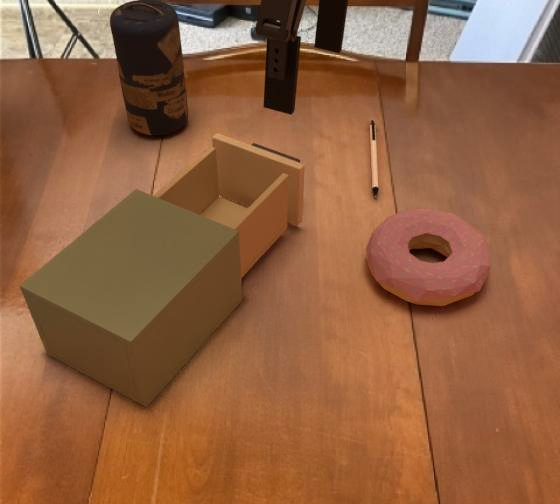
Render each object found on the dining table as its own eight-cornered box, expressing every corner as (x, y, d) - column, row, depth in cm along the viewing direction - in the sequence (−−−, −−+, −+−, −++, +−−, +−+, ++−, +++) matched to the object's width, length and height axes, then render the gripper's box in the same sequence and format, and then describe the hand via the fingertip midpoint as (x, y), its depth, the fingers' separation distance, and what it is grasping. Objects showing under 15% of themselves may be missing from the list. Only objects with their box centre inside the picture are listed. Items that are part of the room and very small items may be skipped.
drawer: (238, 173, 97) (235, 116, 90) (318, 204, 93) (322, 146, 86) (142, 263, 85) (130, 205, 78) (229, 302, 81) (225, 245, 74)
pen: (374, 123, 107) (375, 117, 106) (378, 199, 95) (379, 192, 94) (369, 123, 107) (370, 117, 106) (372, 199, 95) (373, 192, 94)
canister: (164, 147, 102) (147, 26, 88) (115, 128, 105) (91, 8, 91) (201, 118, 108) (191, -2, 93) (154, 100, 111) (137, -18, 96)
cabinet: (148, 258, 87) (135, 188, 79) (242, 300, 83) (239, 230, 74) (46, 354, 77) (19, 285, 69) (146, 407, 73) (130, 341, 64)
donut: (460, 331, 80) (470, 302, 76) (344, 286, 84) (347, 256, 81) (501, 254, 88) (511, 224, 85) (393, 217, 93) (398, 186, 89)
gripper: (326, -169, 40) (295, 151, 56) (424, -229, 56) (378, 35, 72) (211, -189, 42) (213, 128, 58) (338, -242, 57) (312, 20, 73)
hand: (304, 77), depth 65 cm, fingers open, 13 cm apart
